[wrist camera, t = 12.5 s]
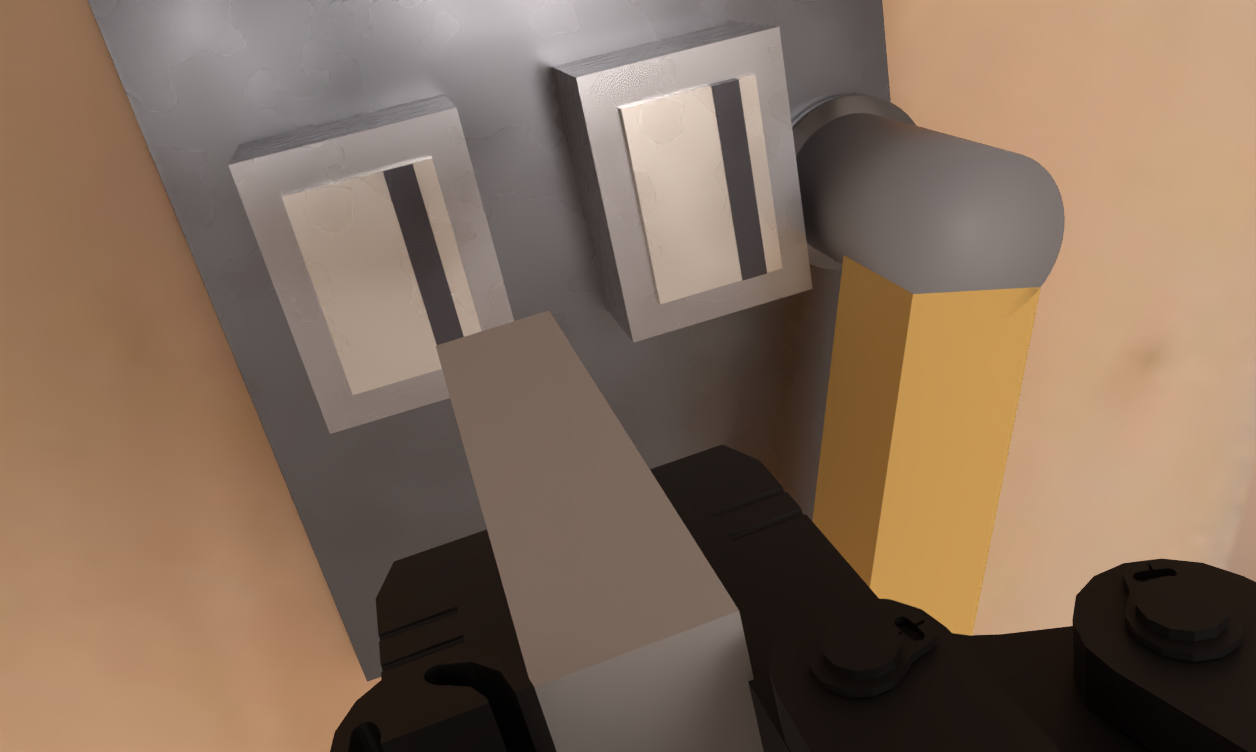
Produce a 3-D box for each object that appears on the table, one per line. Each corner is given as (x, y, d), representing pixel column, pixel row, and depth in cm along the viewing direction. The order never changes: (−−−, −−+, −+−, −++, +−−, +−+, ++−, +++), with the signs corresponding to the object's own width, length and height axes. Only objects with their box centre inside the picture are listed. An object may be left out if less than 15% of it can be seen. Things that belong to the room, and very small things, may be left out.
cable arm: (793, 113, 24) (919, 152, 19) (926, 112, 25) (1080, 150, 20) (737, 719, 31) (818, 869, 26) (842, 701, 32) (940, 842, 26)
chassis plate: (4, -234, 19) (-68, -278, 15) (856, -387, 21) (953, -451, 18) (366, 658, 28) (370, 752, 25) (925, 467, 31) (998, 528, 28)
